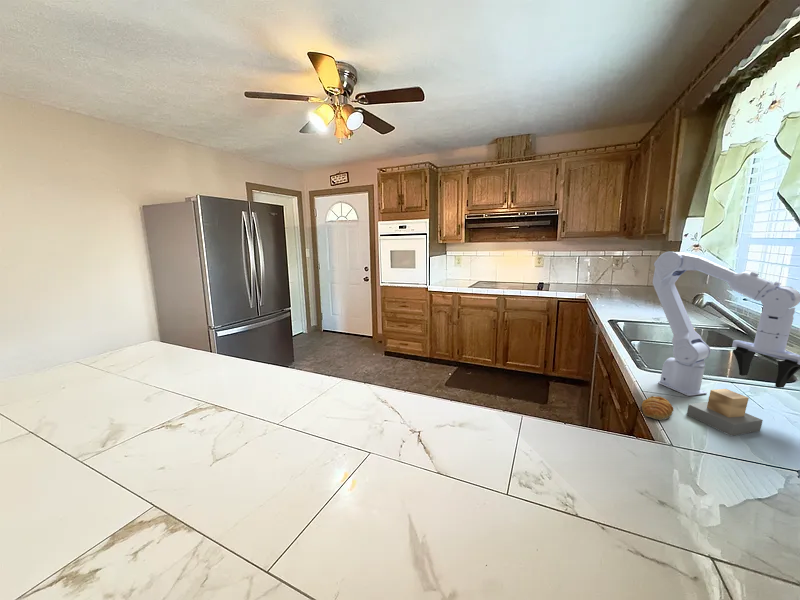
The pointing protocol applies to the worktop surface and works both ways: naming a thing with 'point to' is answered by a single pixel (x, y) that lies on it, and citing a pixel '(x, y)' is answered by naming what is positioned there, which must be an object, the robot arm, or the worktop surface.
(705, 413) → the gray block
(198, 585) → the worktop surface
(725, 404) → the oak block
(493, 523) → the worktop surface
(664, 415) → the pastry
